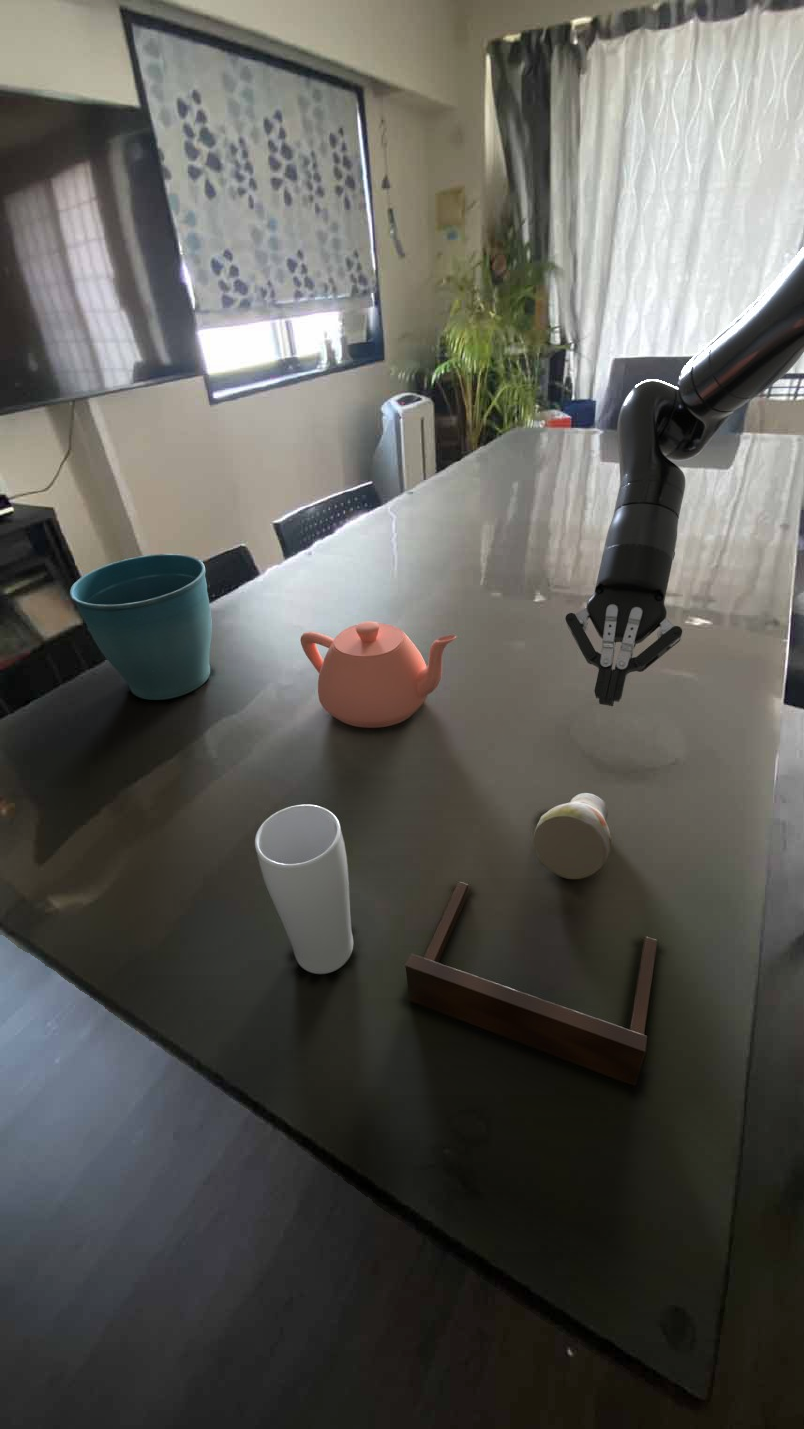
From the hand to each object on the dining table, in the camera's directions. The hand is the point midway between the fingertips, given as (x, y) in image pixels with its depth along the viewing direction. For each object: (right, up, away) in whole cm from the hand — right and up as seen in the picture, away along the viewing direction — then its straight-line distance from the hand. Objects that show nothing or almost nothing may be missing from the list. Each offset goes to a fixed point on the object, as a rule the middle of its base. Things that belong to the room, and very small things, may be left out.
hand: (606, 703), depth 70 cm
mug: (-5, -15, -4) cm, 16 cm away
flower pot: (-58, +4, +29) cm, 65 cm away
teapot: (-25, 0, +19) cm, 32 cm away
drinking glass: (-29, -23, -12) cm, 39 cm away
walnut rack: (-11, -23, -15) cm, 30 cm away
